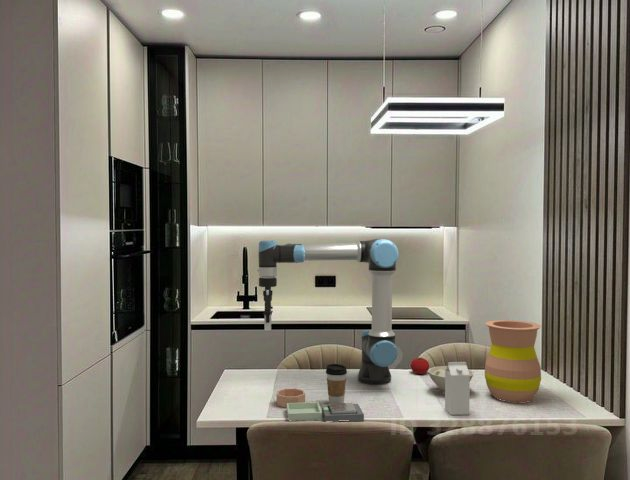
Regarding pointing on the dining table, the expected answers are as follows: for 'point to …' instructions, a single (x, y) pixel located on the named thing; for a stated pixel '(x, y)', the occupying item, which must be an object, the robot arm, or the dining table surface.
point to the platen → (342, 408)
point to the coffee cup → (336, 382)
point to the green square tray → (304, 411)
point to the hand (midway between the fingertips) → (268, 327)
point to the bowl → (441, 376)
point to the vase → (513, 361)
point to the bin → (290, 397)
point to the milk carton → (457, 388)
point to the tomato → (419, 366)
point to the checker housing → (336, 417)
